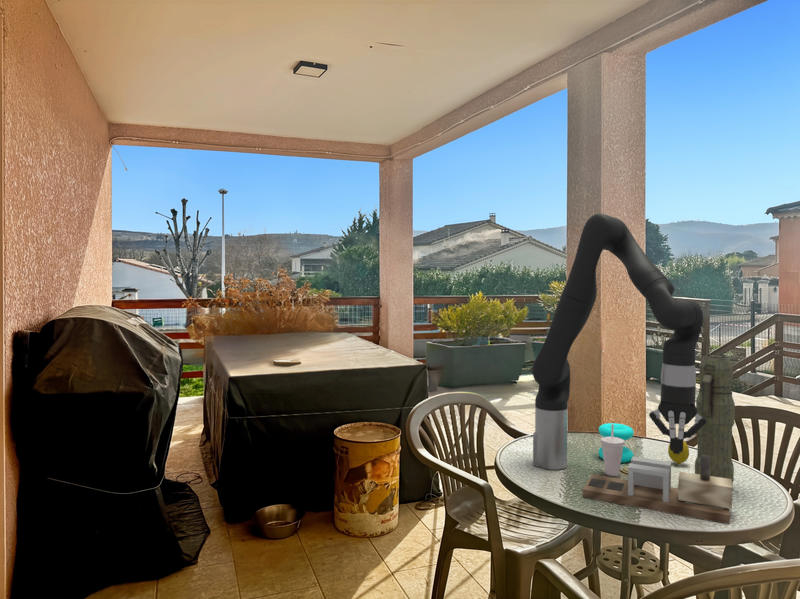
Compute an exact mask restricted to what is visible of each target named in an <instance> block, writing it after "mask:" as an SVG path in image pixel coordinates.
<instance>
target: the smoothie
mask: <svg viewBox="0 0 800 599" xmlns="http://www.w3.org/2000/svg"><path fill="white" fill-rule="evenodd" d="M613 434H614V424H611V437H603V436H602V437H601V438H600V444H601V447H602V450H603V458H604V459H603V464H604V473H605V475H607V476H610V477H611V476H612V477H616V476H617V477H618V476H620V471H621V464H622V463H621V458H622V451H623V446H625V440H623V439H620V438H617V437H613Z"/></svg>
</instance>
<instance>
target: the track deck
mask: <svg viewBox="0 0 800 599" xmlns="http://www.w3.org/2000/svg"><path fill="white" fill-rule="evenodd" d="M585 497H586V498H587V499H591V500H596V499H597V501H601V502H609V503H613V504H619V505H623V506H630V507H634V508H640V509H644V510H650V511H657V512H661V513H666V514H667V513H668V514H673V515H678V516H683V517H688V518H693V519H699V520H704V519H706V520H705V521H710V520H712V521H711V522H715V521H717V522H716V523H721V522H722V524H726V523H728V524H727V525H730V521H731V520H730V517H731V516H730V509H728V508H722V507H716V506H711V505H705V504H699V503H693V502H687V501H682V500H678V487H672V486H671V491H669V502H664V501H663V489H657V488H651V487H645V486H639V485H634V495H633V496H630V495H628V479H623V478H616V477H611V476H606V475H605V476H604V475H597V474H593V473H592V474H590V476H589V478H588V480H587V482H586V483H585V485H584V486H583V488H582V498H585Z"/></svg>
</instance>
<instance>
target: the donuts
mask: <svg viewBox="0 0 800 599" xmlns="http://www.w3.org/2000/svg"><path fill="white" fill-rule="evenodd" d="M611 424H614V434H613V437H617V438H620V439H623V440H624V441H629V440H630V439H632V438H633V436H634V435H635V432H634V429H633V428H632V427H631V426H630V425H627V424H622V423H614V422H609V423H608V422H606V423H603V424H601V425H600V426H599V427H598V434H600V435H601V436H602V438H603V437H611ZM598 455H599V457H600V459H603V460H604V458H603V450H602V446H600V447H599V449H598ZM634 455H635V454H634V452H633V451H632V450H631V449H630V448H628V447H627V446H625V445H624V446H623V451H622V458H621V464H622V463H623V464H624V463H629V462H631V459H632V457H633V456H634ZM634 457H635V456H634Z"/></svg>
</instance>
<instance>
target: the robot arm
mask: <svg viewBox="0 0 800 599" xmlns="http://www.w3.org/2000/svg"><path fill="white" fill-rule="evenodd" d="M604 250H605V251H609V253H611V254H613V256H615V257H616V258H617V259H619V260H620V262H622V264H623V265H624V267H625V269H626V272H627V275H628V276H629V277H628V278H629V280H630V281H631V282H632V284H633V286H634V287H635V288H636V289H637V291H638V292H639V293H640V294H641V295H642V296H643V297H644V298H645V299H646V301H647V303H648V306H649V307H650V310H651V312H652V315H653V316H654V318H655V320H656V321H657V322H658V324H660V325H661V327H664V328H665V329H668V330H674V331H673V334H672V336H671V337H670V338H669V339H666V340H665V341H664V342H663V345H662V366H661V370H660V371H661V374H660V401H659V404H658V405H657V408H656V409H654V410H651V411H650V412H649V414H648V417H649V419H651V421H652V422H653V423H654V424H655V426H656V427H657V429H658V431H660V432H661V434H662V435H664V436H668V437H669V444H670V450H671V451H673V453H674V454H680V452H682V451H683V441H685V439H689V438H692V437H693V436H694V435H695V434H696V433H698V430H699V429H700V428H701V427H702V426H703V425H704V424H705V423H706V418H705V417H702V416H701V415H700V414H698V413H697V408H696V384H697V375H696V374H697V372H696V347H697V343H698V342H699V338H700V335H701V331H702V328H703V322H704V313H703V310H702V307H701V306H700V304H699V303H698V302H696V301H694V300H691V299H676V298H674V297H673V294H674V292H675V286H674V285H673V283H672V282H671V281H670V279H668V277H667V276H666V275H665V274H664V273H663V272H662V271H661V269H659V268H658V267H657V266H656V265H655V264H654V263H653V261H652V260H651V259H650V258H649V257H648V256H647V254H646V253H645V252H644V251H643V248H641V246H640V245H639V243H638V241H637V240H636V239H635V237H634V236H633V234H632V232H631V230H630V228H629V227H628V226H627V225H626V223H625V222H624V221H622V220H621V219H619V218H617V217H614V216H612V215H611V216H610V215H608V214H604V213H600V212H599V213H595V214H592V216H590V217H589V218H588V219H587V221H586V222H585V224H584V226H583V228H582V232H581V235H580V238H579V242H578V246H577V250H576V253H575V257H574V260H573V264H572V266H571V269H570V271H569V275H568V277H567V281H566V283H565V284H564V288H563V290H562V292H561V295H560V298H559V301H558V303H557V306H556V309H555V310H554V311H555V312H554V315H553V317H552V320H551V323H550V327H549V330H548V332H547V336H546V338H545V340H544V342H543V343H542V346H541V348H540V350H539V351H538V354H537V355H536V358H535V360H534V362H533V364H532V367H531V368H532V369H531V371H532V378H533V379H534V381H535V382H536V383H537V384H538V390H537V393H536V397H535V400H534V401H535V403H534V405H535V406H534V407H535V408H534V409H535V410H534V413H535V414H534V415H535V416H534V417H535V418H534V420H535V422H534V428H535V429H534V432H533V433H532V465H533V464H534V465H533V466H536V465H537V466H536V467H538V468H541V469H544V470H545V469H546V470H552V471H553V470H554V471H555V470H556V471H557V470H564V469H566V468H567V467H568V404H569V398H570V394H571V393H570V392H571V391H570V389H571V366H570V363H569V361H568V356H569V354H570V350H571V348H572V345H573V344H574V342H575V340H576V339H577V337H578V336H579V335H580V333H581V332H582V330H583V328H584V327H585V325H586V323H587V321H588V320H589V318H590V315H591V313H592V312H593V311H592V310H593V307H594V305H595V303H596V299H597V295H598V291H597V290H598V289H597V272H596V271H597V266H598V262H599V260H600V258H601V254H602V252H603V251H604ZM661 416H662V417H663V419H664V420H665V421H666V422H667V423H668V426H666V425H665V423H664V422H663V421H662V419H661ZM693 419H694V424H693V425H692V426H690V428H689V429H687V430H686V431H685V427H686V425H688V424H689V423H690V422H691V421H692V420H693ZM677 425H678V429H676V428H677V427H676V426H677ZM668 427H669V428H668ZM677 431H678V432H677Z"/></svg>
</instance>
